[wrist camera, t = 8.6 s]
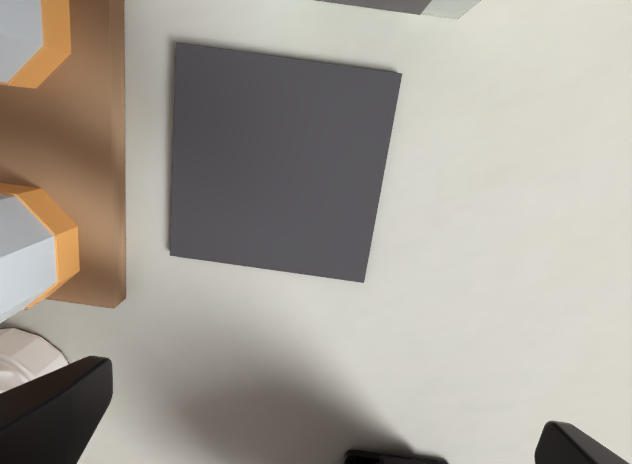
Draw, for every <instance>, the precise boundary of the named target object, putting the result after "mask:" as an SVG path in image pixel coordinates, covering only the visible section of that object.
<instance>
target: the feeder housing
mask: <svg viewBox="0 0 632 464" xmlns="http://www.w3.org/2000/svg"><path fill="white" fill-rule="evenodd" d="M317 1H324V2H331V3H338V4H346V5H353V6H360V7H367V8H375V9H382V10H389V11H396V12H404V13H411V14H418V15H420V14H425V15H433V16H440V17H447V18H454V19H459V18H460V17H461V16H462V15H464V14H465V13H466V12H467V11H468V10H470V9H471V8H472V7H473V6H475V5H476V4H477V3H478V2H479V1H481V0H317Z"/></svg>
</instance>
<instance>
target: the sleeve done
mask: <svg viewBox="0 0 632 464" xmlns="http://www.w3.org/2000/svg"><path fill="white" fill-rule="evenodd" d="M79 271H80V266H79V243H78V226H77V225H76V224H75V223H74V222H73V221H72V220H71V219H70V218H69V217H68V216H67V215H66V213H65V212H64V211H63V210H62V209H61V208H60V207H59V206H58V205H57V204H56V203H55V202H54V201H53V200H52V199H51V197H50V196H49V195H48V194H47V193H46V192H45V191H44V190H43V189H42V188H36V187H28V186H21V185H14V184H7V183H0V323H1V322H3V321H5V320H6V319H8V318H10V317H11V316H13V315H15V314H16V313H18V312H20V311H21V310H23V309H25V310H27V309H29V308H30V307H32V306H34V305H35V304H37V303H39V302H40V301H42V300H44V299H45V298H47V297H48V296H50V295H51V294H52V293H53V292H55V291H56V290H57V289H58V288H59V287H61V286H62V285H63V284H64V283H66V282H67V281H68V280H69V279H70V278H72V277H73V276H74V275H75V274H76V273H78V272H79Z"/></svg>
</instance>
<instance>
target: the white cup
mask: <svg viewBox="0 0 632 464" xmlns="http://www.w3.org/2000/svg"><path fill="white" fill-rule="evenodd" d="M66 365H69V364H68V362H67V361H66V359H65V357H64V356H63V354H62V353H61V352H60V351H59V350H57V349H56V348H55V347H54V346H52V345H51V344H50V343H48V342H47V341H46V340H45V339H43V338H42V337H40V336H37V335H34V334H31V333H28V332H25V331H22V330H19V329H16V328H9V329H0V393H3V392H5V391H7V390H10V389H12V388H14V387H17V386H19V385H22V384H24V383H26V382H29V381H31V380H33V379H36V378H38V377H40V376H43V375H45V374H48V373H50V372H52V371H55V370H57V369H59V368H62V367H64V366H66Z"/></svg>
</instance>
